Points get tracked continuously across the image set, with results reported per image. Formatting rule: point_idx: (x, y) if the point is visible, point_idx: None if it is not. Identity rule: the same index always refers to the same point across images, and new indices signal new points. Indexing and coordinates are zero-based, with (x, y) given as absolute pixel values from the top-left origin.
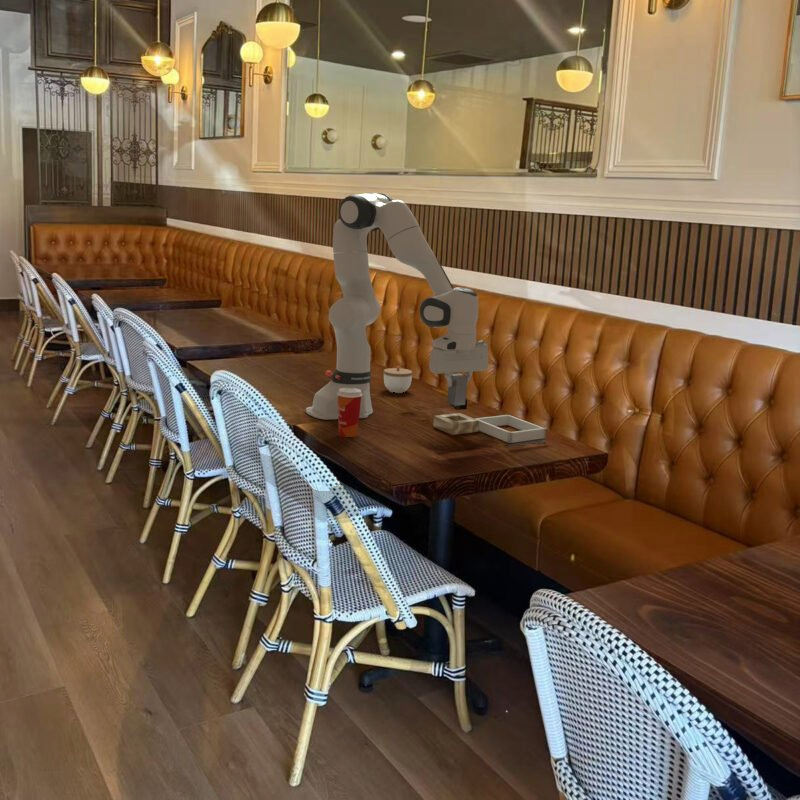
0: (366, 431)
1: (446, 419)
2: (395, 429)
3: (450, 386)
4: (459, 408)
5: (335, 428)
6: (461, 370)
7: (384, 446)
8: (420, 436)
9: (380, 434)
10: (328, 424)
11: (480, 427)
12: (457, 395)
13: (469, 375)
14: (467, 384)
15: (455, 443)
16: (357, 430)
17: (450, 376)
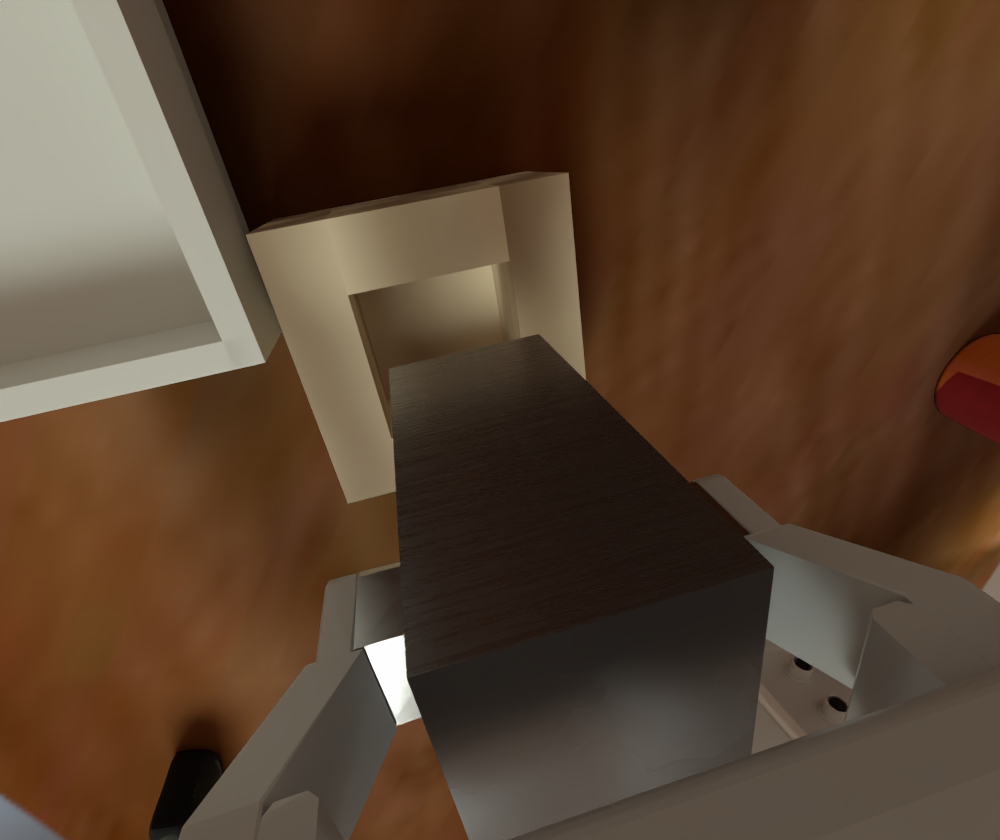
0: (865, 428)
1: (551, 324)
2: (725, 448)
3: (709, 476)
4: (216, 767)
5: (938, 483)
6: (751, 831)
7: (987, 121)
8: (680, 294)
9: (845, 369)
10: (919, 537)
11: (233, 238)
12: (547, 384)
13: (285, 787)
14: (347, 581)
15: (544, 49)
16: (990, 360)
17: (901, 592)
